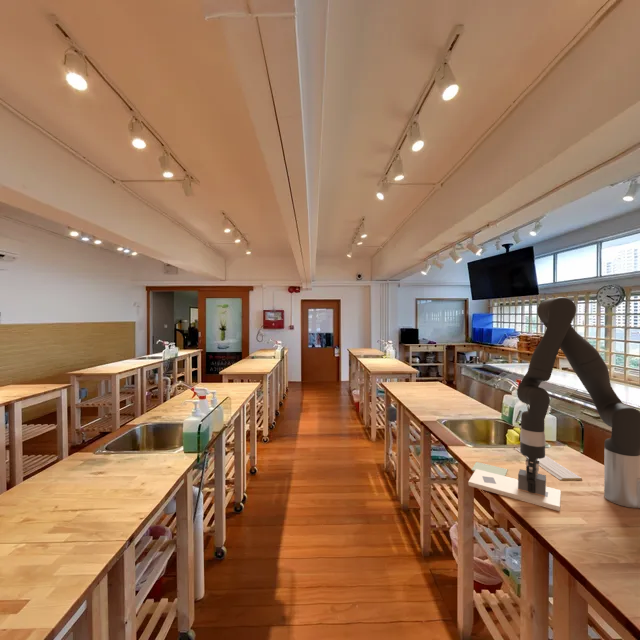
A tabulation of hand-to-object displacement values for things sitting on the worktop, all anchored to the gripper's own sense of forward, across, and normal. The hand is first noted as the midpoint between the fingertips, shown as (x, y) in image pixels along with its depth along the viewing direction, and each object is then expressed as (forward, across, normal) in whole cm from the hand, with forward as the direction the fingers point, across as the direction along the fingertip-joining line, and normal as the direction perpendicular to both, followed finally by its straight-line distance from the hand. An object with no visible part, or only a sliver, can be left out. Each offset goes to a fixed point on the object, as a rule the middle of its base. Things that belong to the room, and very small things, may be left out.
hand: (532, 488), depth 119 cm
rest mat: (+2, +12, +16) cm, 20 cm away
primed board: (+2, 0, +6) cm, 6 cm away
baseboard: (+3, +33, -2) cm, 34 cm away
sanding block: (0, 0, 0) cm, 1 cm away
